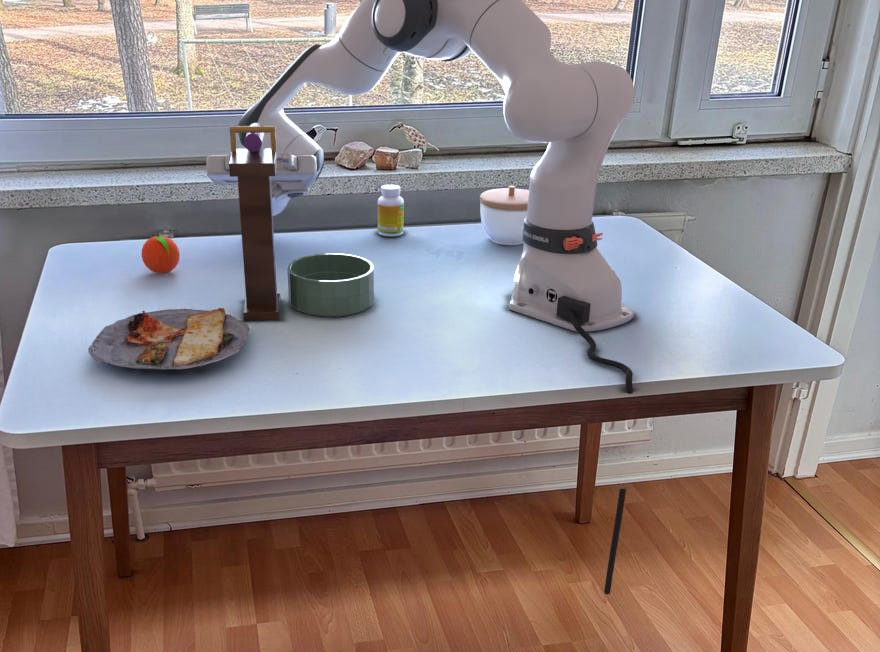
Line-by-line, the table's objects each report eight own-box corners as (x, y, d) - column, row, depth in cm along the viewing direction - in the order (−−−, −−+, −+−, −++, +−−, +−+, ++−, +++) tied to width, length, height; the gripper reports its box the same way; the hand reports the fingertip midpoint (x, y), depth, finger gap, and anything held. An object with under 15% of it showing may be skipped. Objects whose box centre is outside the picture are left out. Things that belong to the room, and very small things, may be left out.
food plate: (121, 318, 168) (118, 298, 166) (259, 321, 167) (257, 301, 165) (74, 381, 146) (70, 359, 144) (233, 385, 146) (231, 363, 144)
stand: (243, 301, 175) (230, 123, 160) (284, 300, 176) (275, 123, 160) (239, 322, 167) (226, 137, 151) (283, 321, 167) (273, 137, 152)
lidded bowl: (474, 247, 203) (477, 192, 197) (480, 229, 213) (483, 177, 208) (537, 251, 201) (542, 196, 195) (540, 233, 212) (544, 180, 206)
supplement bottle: (403, 237, 208) (403, 190, 203) (377, 237, 208) (377, 189, 203) (403, 229, 212) (404, 183, 207) (378, 229, 212) (378, 183, 207)
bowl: (390, 307, 173) (390, 271, 170) (316, 324, 166) (315, 287, 163) (345, 282, 184) (344, 248, 180) (274, 298, 176) (272, 262, 173)
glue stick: (248, 140, 169) (247, 122, 168) (265, 140, 169) (264, 122, 168) (244, 152, 159) (243, 133, 158) (262, 152, 159) (261, 133, 158)
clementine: (189, 276, 186) (186, 238, 182) (154, 283, 182) (150, 244, 179) (172, 264, 191) (168, 227, 188) (138, 270, 188) (133, 233, 184)
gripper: (209, 162, 191) (200, 138, 177) (316, 161, 192) (315, 138, 179) (210, 195, 191) (201, 174, 177) (317, 194, 192) (316, 174, 179)
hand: (259, 156), depth 178 cm, fingers open, 8 cm apart
